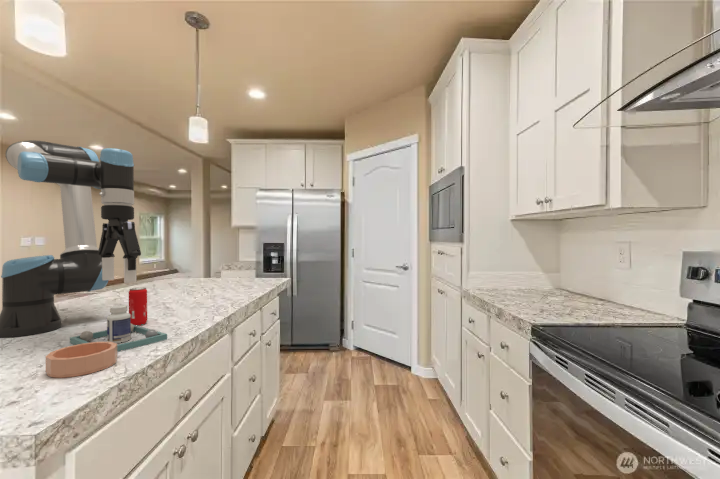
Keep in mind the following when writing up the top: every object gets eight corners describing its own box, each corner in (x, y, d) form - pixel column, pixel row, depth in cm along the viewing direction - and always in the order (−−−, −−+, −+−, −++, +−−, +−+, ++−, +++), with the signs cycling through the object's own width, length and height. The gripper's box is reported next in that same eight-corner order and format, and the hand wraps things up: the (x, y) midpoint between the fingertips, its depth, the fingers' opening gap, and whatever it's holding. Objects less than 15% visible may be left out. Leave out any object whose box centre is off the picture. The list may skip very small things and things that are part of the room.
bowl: (38, 370, 74) (38, 352, 74) (103, 354, 84) (103, 338, 84) (58, 382, 67) (58, 363, 67) (126, 363, 77) (125, 347, 77)
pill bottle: (135, 338, 97) (135, 304, 97) (120, 344, 92) (120, 308, 92) (118, 338, 98) (117, 304, 97) (102, 343, 92) (101, 308, 92)
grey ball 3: (143, 340, 95) (143, 330, 95) (154, 338, 97) (154, 327, 97) (148, 342, 93) (148, 331, 93) (159, 339, 96) (159, 329, 96)
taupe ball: (77, 342, 94) (77, 331, 94) (90, 339, 96) (90, 329, 96) (82, 344, 92) (81, 333, 92) (95, 341, 94) (95, 330, 94)
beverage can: (130, 323, 115) (130, 288, 115) (148, 321, 117) (148, 287, 117) (127, 326, 110) (127, 290, 110) (146, 325, 112) (145, 289, 112)
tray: (69, 342, 93) (69, 337, 93) (133, 329, 107) (133, 324, 107) (100, 356, 82) (100, 349, 82) (167, 339, 96) (167, 334, 96)
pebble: (120, 333, 102) (120, 323, 102) (131, 331, 105) (131, 321, 105) (124, 334, 101) (124, 324, 101) (136, 332, 103) (135, 322, 103)
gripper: (83, 207, 98) (84, 280, 98) (123, 200, 85) (124, 285, 84) (113, 209, 104) (114, 277, 104) (154, 203, 91) (155, 282, 91)
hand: (118, 281), depth 94 cm, fingers open, 13 cm apart
